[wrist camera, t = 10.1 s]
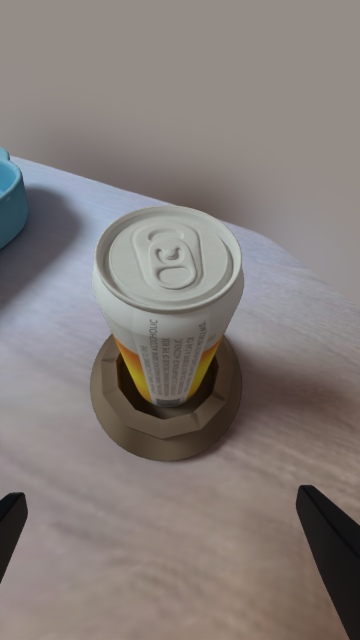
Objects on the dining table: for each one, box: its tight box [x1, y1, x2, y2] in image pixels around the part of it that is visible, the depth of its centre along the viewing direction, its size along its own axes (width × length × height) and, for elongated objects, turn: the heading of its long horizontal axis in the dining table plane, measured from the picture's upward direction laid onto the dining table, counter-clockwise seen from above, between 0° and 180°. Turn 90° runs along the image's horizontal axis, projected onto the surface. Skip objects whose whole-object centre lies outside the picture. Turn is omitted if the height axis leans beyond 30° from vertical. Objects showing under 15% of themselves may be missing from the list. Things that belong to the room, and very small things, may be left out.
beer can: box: [92, 205, 244, 407], centre depth 15 cm, size 6×6×15 cm
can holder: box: [90, 334, 242, 461], centre depth 20 cm, size 14×14×4 cm
